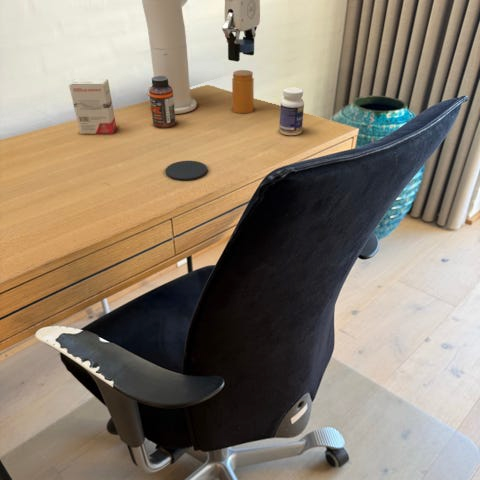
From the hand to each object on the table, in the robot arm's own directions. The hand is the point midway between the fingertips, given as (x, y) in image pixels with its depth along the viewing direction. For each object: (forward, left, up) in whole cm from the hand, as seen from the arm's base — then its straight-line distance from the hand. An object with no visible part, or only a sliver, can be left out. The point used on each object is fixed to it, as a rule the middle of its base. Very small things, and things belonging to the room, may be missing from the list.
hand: (241, 56), depth 124 cm
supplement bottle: (-12, -20, -13) cm, 27 cm away
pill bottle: (+19, -8, -13) cm, 25 cm away
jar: (0, 0, -13) cm, 13 cm away
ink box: (-24, -32, -13) cm, 42 cm away
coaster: (+10, -40, -13) cm, 43 cm away
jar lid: (0, 0, +3) cm, 3 cm away
